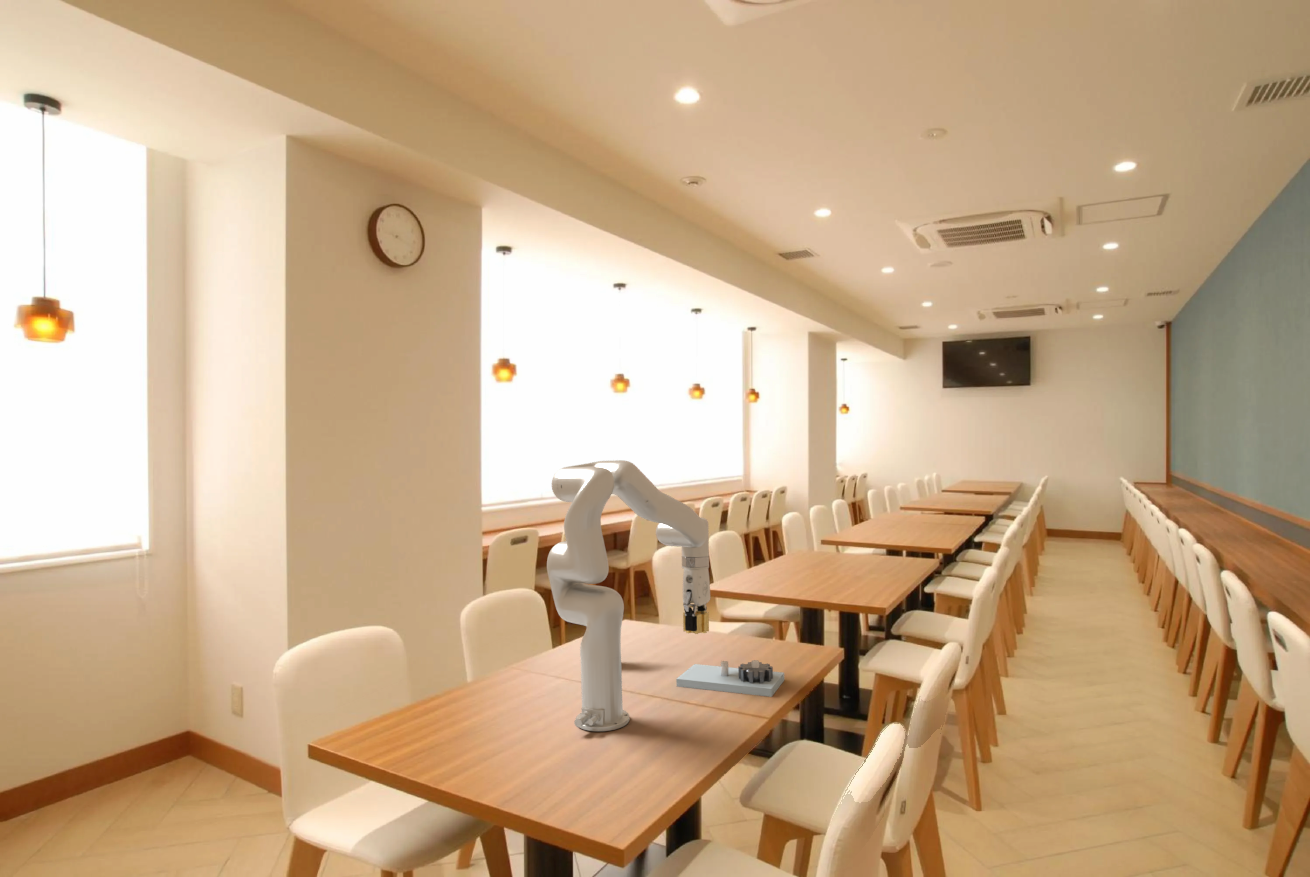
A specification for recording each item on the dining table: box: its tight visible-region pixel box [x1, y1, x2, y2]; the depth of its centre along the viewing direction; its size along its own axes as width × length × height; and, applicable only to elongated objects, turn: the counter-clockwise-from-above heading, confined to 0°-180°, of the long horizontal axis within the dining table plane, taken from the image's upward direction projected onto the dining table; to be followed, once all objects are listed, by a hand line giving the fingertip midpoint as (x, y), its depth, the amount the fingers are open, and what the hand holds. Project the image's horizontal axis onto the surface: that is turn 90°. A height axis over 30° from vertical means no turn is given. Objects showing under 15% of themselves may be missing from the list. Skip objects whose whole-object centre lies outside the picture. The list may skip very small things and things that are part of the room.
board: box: [675, 659, 785, 698], centre depth 191 cm, size 14×26×6 cm, turn 66°
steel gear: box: [737, 661, 774, 684], centre depth 188 cm, size 9×9×3 cm
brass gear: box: [682, 610, 710, 635], centre depth 194 cm, size 7×7×5 cm
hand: (696, 627), depth 194 cm, fingers closed on brass gear, 6 cm apart
